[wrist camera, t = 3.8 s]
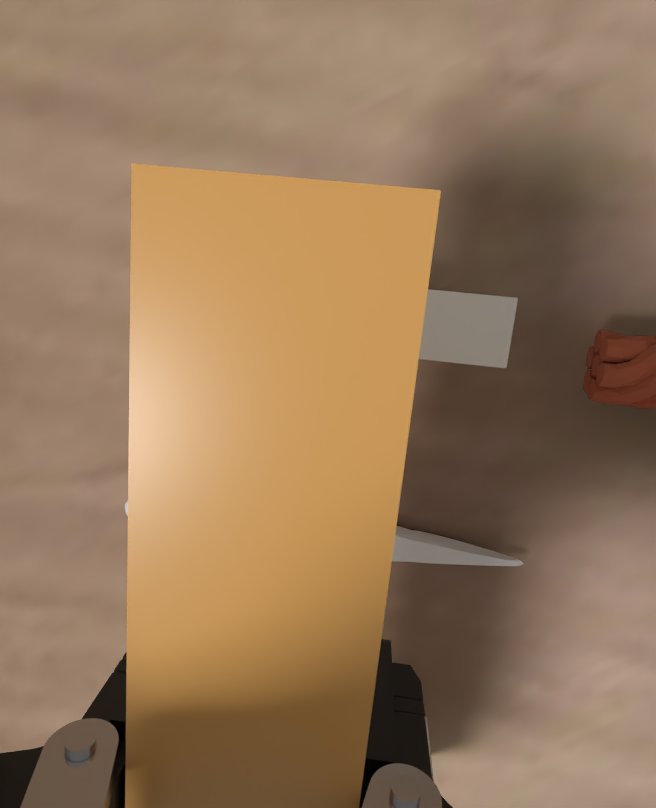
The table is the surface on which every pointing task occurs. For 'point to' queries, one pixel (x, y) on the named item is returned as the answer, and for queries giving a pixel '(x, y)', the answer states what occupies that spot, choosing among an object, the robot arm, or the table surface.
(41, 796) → the robot arm
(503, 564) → the white tapered spike
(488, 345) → the rails
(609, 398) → the cable
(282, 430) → the bar
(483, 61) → the table surface
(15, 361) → the table surface
